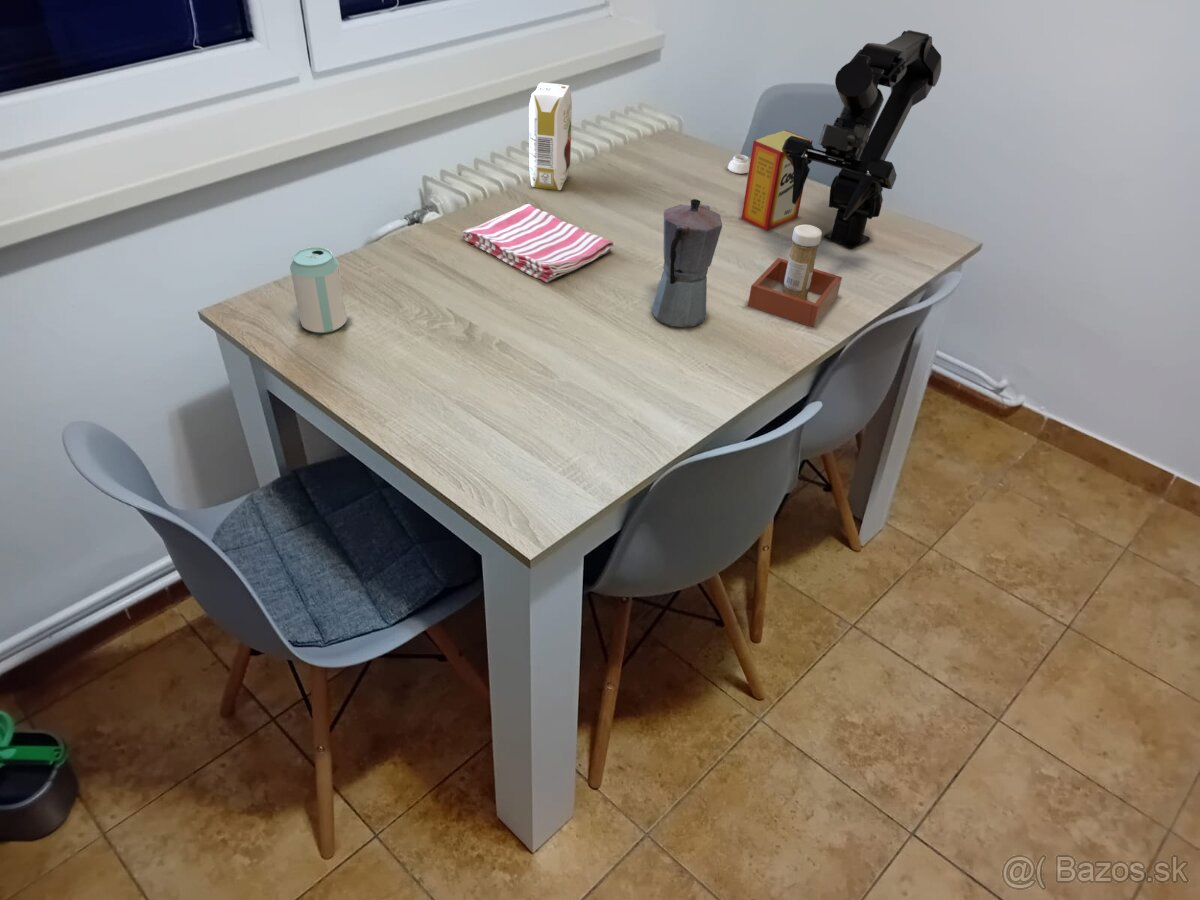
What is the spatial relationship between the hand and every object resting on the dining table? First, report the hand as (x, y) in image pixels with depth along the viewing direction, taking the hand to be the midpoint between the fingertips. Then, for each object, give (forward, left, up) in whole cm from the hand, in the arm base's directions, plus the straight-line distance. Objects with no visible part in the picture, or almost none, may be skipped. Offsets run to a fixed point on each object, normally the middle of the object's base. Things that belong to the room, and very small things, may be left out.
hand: (818, 210), depth 152 cm
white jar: (-28, -39, -14) cm, 50 cm away
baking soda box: (-15, -20, -14) cm, 29 cm away
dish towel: (+29, -39, -14) cm, 50 cm away
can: (+72, -40, -14) cm, 83 cm away
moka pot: (+26, -6, -14) cm, 30 cm away
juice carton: (+9, -59, -14) cm, 61 cm away
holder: (+7, +3, -14) cm, 15 cm away
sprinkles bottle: (+7, +3, -14) cm, 16 cm away
